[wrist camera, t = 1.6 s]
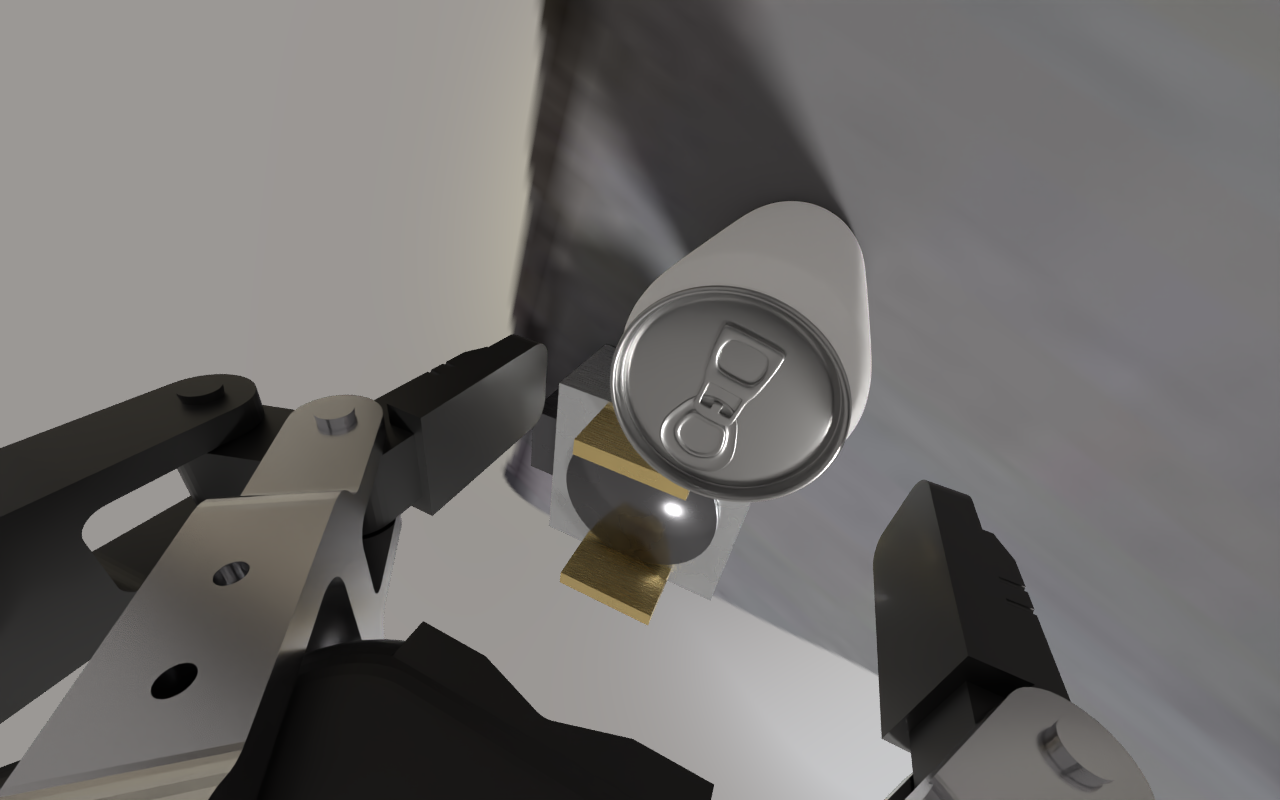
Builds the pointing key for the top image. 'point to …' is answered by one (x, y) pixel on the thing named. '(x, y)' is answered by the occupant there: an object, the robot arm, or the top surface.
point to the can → (749, 356)
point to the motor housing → (624, 503)
